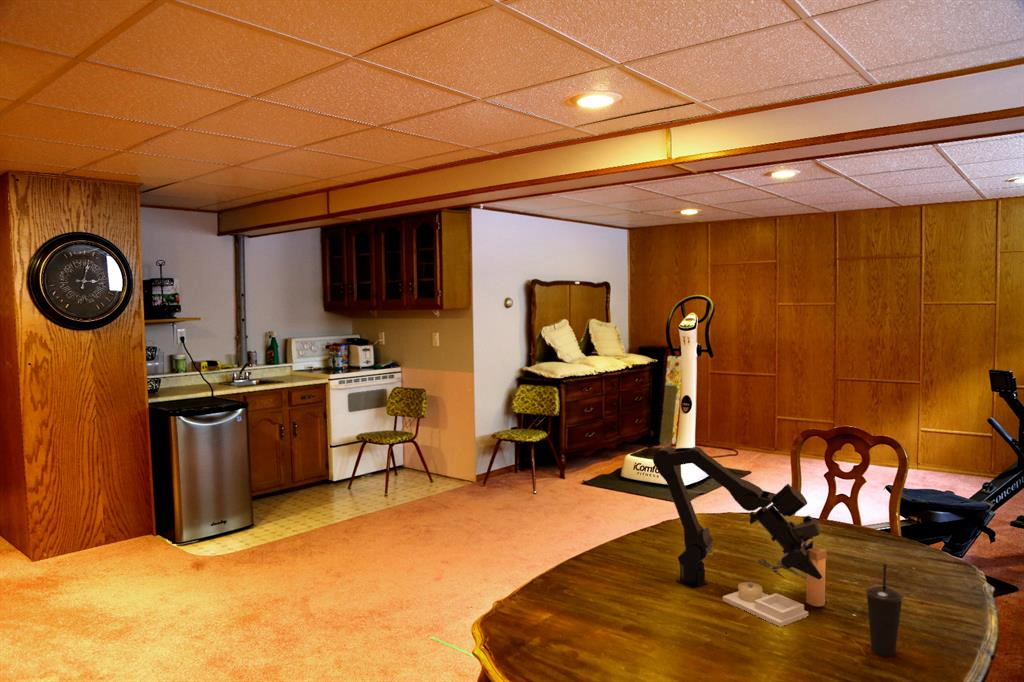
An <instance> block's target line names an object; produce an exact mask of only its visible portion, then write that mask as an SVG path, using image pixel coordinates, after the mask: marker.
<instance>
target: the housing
mask: <svg viewBox="0 0 1024 682" xmlns="http://www.w3.org/2000/svg"><path fill="white" fill-rule="evenodd" d="M722 601H723V602H724V601H725V603H727V604H729V605H731V606H734V607H735V608H737V607H738V608H737V609H739V608H740V609H739V610H742V611H744V610H745V612H746V611H747V612H746V613H748V612H749V614H750V613H751V615H752V614H753V616H755V615H756V616H755V617H757V618H759V617H760V618H759V619H761V618H762V620H763V619H764V621H765V620H766V622H768V623H769V624H772V623H773V624H772V625H774V624H775V625H774V626H776V625H777V626H776V627H778V626H779V628H781V627H784V625H785V626H786V625H789V624H792V623H795V622H797V620H798V621H800V620H802V618H803V619H805V618H808V617H809V611H807V610H805V604H803V603H801V602H799V601H796V600H793V599H791V598H789V597H786V596H784V595H782V594H779V593H776V592H775V593H772V594H770V595H769V594H767V593H765V592H763V586H762V585H760V584H758V583H755V582H752V581H744V582H740V583H739V584H738V590H737V591H735V592H732V593H728V594H726V595H723V596H722ZM807 616H808V617H807Z"/></svg>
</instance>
